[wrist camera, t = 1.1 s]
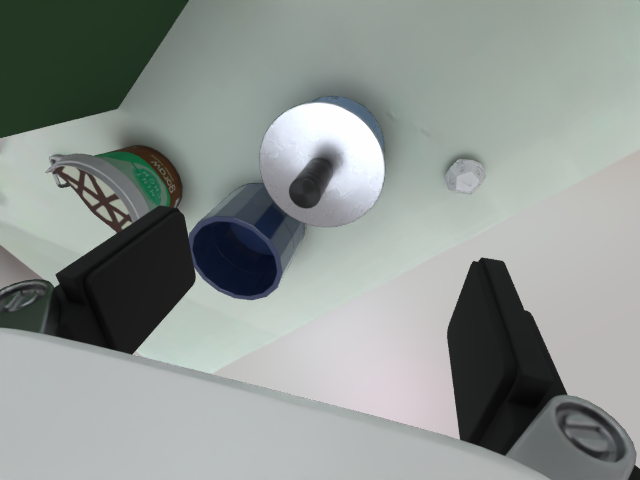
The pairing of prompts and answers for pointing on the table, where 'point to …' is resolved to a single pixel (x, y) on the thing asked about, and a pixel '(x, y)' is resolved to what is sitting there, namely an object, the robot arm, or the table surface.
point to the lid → (322, 164)
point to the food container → (122, 183)
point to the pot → (245, 243)
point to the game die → (465, 176)
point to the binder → (74, 56)
